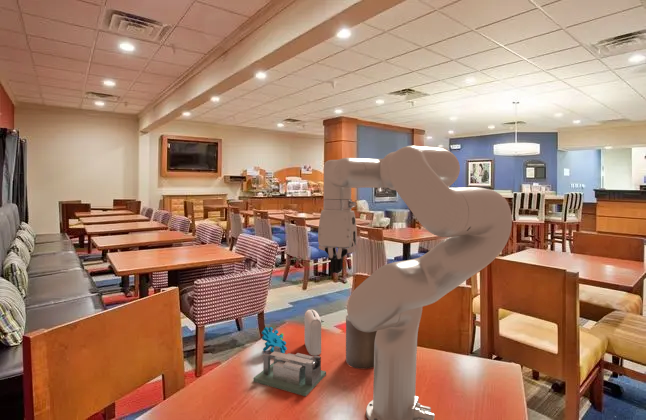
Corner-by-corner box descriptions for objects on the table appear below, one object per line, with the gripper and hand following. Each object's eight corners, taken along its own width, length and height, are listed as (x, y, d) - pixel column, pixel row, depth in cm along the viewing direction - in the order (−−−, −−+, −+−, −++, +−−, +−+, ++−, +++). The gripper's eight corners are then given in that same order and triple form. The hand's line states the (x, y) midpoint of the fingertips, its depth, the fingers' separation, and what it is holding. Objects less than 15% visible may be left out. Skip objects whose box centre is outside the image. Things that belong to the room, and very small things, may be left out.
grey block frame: (323, 374, 106) (323, 354, 105) (309, 388, 99) (309, 367, 98) (277, 363, 112) (277, 344, 112) (261, 375, 105) (261, 355, 105)
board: (326, 374, 108) (326, 371, 108) (305, 396, 97) (305, 392, 97) (277, 362, 115) (277, 359, 115) (253, 381, 104) (253, 377, 104)
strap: (317, 364, 104) (318, 360, 103) (312, 369, 101) (312, 365, 101) (275, 354, 109) (275, 349, 109) (268, 358, 107) (268, 354, 106)
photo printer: (303, 342, 129) (303, 306, 128) (315, 341, 130) (316, 305, 129) (309, 356, 119) (309, 317, 118) (322, 355, 120) (322, 316, 119)
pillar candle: (384, 361, 116) (384, 312, 115) (364, 373, 109) (364, 321, 108) (358, 351, 123) (359, 305, 122) (338, 362, 116) (338, 313, 115)
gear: (278, 356, 115) (259, 329, 118) (264, 368, 116) (246, 340, 119) (294, 347, 125) (276, 321, 128) (282, 357, 127) (264, 332, 130)
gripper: (368, 205, 105) (366, 272, 106) (318, 204, 111) (318, 266, 113) (358, 207, 98) (357, 278, 100) (306, 205, 105) (306, 271, 106)
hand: (336, 271), depth 106 cm, fingers closed
